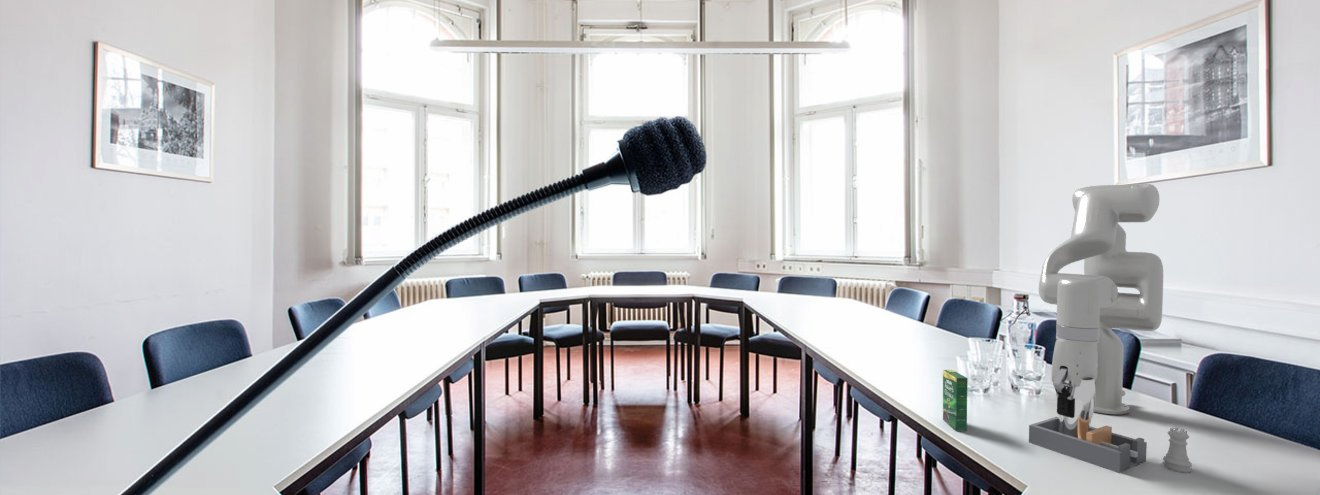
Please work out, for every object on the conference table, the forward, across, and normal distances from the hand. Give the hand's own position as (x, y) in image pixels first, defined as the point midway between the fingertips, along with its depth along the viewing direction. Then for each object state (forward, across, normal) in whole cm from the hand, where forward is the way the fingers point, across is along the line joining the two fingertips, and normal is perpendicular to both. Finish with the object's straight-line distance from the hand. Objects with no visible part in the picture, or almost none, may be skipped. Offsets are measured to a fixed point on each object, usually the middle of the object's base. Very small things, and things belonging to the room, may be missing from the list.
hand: (1074, 412), depth 119 cm
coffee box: (+8, +11, -21) cm, 25 cm away
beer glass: (+7, 0, 0) cm, 7 cm away
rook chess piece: (+8, -7, +15) cm, 19 cm away
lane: (+8, 0, +2) cm, 8 cm away
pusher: (+7, 0, +8) cm, 11 cm away
